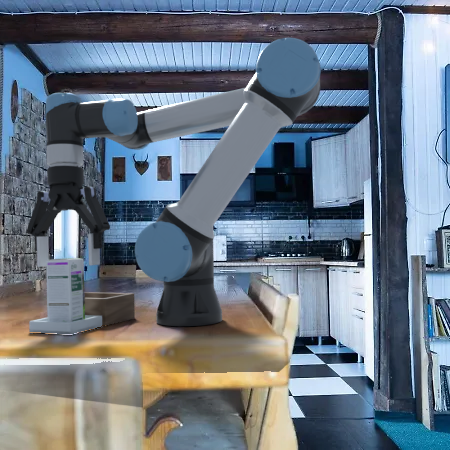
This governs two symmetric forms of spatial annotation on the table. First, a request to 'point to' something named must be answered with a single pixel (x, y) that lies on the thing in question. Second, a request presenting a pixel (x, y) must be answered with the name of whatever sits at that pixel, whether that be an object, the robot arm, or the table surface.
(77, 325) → the tray
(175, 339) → the table surface
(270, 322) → the table surface
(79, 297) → the syrup box
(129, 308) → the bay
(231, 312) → the table surface
